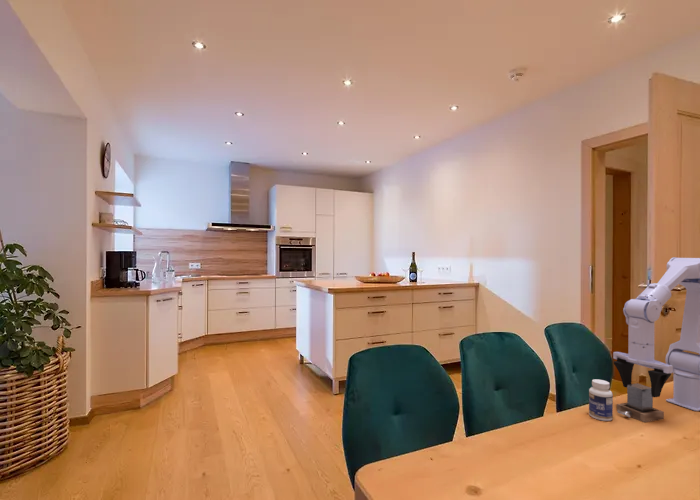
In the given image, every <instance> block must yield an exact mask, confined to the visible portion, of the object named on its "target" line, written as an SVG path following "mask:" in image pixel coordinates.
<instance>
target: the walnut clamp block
mask: <svg viewBox="0 0 700 500" xmlns="http://www.w3.org/2000/svg"><path fill="white" fill-rule="evenodd" d="M616 412H617V414H619V415H623V416H625V417H628V418H632V419H634V420H638V421H640V422H642V423H649V422H655V421H656V422H657V421H660V420H665V412H664V411H663V410H660V409H657V408H654V407H653V411H652V412H646V413H642V412H639V411H637V410H634V409H632V408H629V407H627V402H622V403H616Z"/></svg>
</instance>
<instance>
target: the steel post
mask: <svg viewBox="0 0 700 500" xmlns="http://www.w3.org/2000/svg"><path fill="white" fill-rule="evenodd" d="M626 389H627V390H626V392H627V393H626V394H627V395H626V396H627V397H626V398H627V402H626V403H627V407H629V408H632V409H634V410H637V411H639V412H642V413H646V412H652V411H653V408H654V407H653V406H654V404H653V403H654V402H653V401H654V399H653V398H654V397H652V395H651V386H646V385H643V384H642V383H631V384H628V385H627V387H626Z"/></svg>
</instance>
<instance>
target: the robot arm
mask: <svg viewBox="0 0 700 500" xmlns="http://www.w3.org/2000/svg"><path fill="white" fill-rule="evenodd" d="M678 285H680V286H682V287H684V288H685V290H686V293H685V300H684V307H683V315H682V323H681V331H680V338H679V340H678V341H676V342H673V343H670V344H669V348H668V350H667V353H666V355H665V357H664V358H665V362H662V361H660V360H656V359H655V322H656V321H658V320H659V318H660V316H661V312H662V310H663V306H664V305H665V304H666V303H667V302H668V301H669V300H670V299H671V298H672V292H671V291H672V290H673V289H674V288H675V287H677V286H678ZM622 309H623V310H622V312H623V315H624V316H625V323H626V325H628V332H627V333H628V338H627V339H628V342H627V343H628V346H627V347H628V349H627V350H628V351H627V352H628V353H626V352H621V351H613V353H612V356H613V357H612V358H613V359H614V360H615V361H613V364H614V366H615V368H616V369H617V371H618V373H619V376H620V379H621V382H622V386H623V387H624V388H627V385H628V384H632V380H633V379H632V377H633V376H632V374H633V370H634V366H635V365H638V366H640V367H641V366H642V367H645V368H648V369H652V370H647V373H648V376H649V380H650V387H651V395H652V397H653V398H660V396H661V394H662V390H663V388H664V386H665V384H666V382H667V381H668V379H670V377H671V375H672V374H673V397H672V398H666V399H665V401H666V402H668V403H671V404H674V405H677V406H680V407H683V408H686V409H689V410H691V411H694V412H700V257H678V256H677V257H675V256H674V257H671V258H670V259H669V261H667V263H666V271H665V273H664V274H663V275H662V276H661V278H660V279H659V280H658V281H657V283H656V282H654V283H649V285H648V286H647V287H646V288H645V289H644V290H643V291H642V292H641V293H639V294H638V296H637V297H636V298H631V299H629V300H627V301H626V302H625V303H624V307H623V308H622Z"/></svg>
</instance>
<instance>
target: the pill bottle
mask: <svg viewBox="0 0 700 500" xmlns="http://www.w3.org/2000/svg"><path fill="white" fill-rule="evenodd" d="M610 388H611V386H610V382H609V381H607V380H604V379H594V378H593V379H592V380H591V387H590V388H588V414H589V416H590V417H592V418H593V419H596V420H599V421H601V422H609V421H612V420H613V418H614V417H613V411H614V409H613V407H614V405H613V403H614V402H613V401H614V400H613V398H614V395H613V392H612V391H611V390H610Z"/></svg>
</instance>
